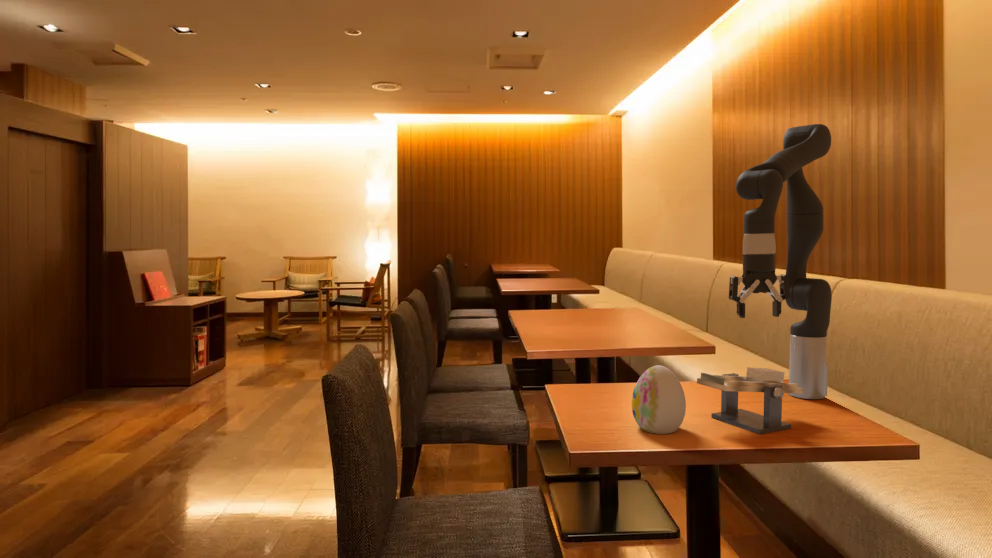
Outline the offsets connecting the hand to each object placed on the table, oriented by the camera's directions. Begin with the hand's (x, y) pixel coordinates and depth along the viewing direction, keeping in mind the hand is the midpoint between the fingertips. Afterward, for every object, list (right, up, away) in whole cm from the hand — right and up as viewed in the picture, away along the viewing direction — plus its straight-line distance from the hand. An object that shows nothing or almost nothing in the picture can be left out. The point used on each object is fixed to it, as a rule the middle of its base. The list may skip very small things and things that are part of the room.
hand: (758, 317), depth 156 cm
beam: (-4, -16, -5) cm, 18 cm away
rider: (0, -16, -3) cm, 16 cm away
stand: (-4, -25, -5) cm, 26 cm away
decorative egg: (-27, -26, -9) cm, 39 cm away
